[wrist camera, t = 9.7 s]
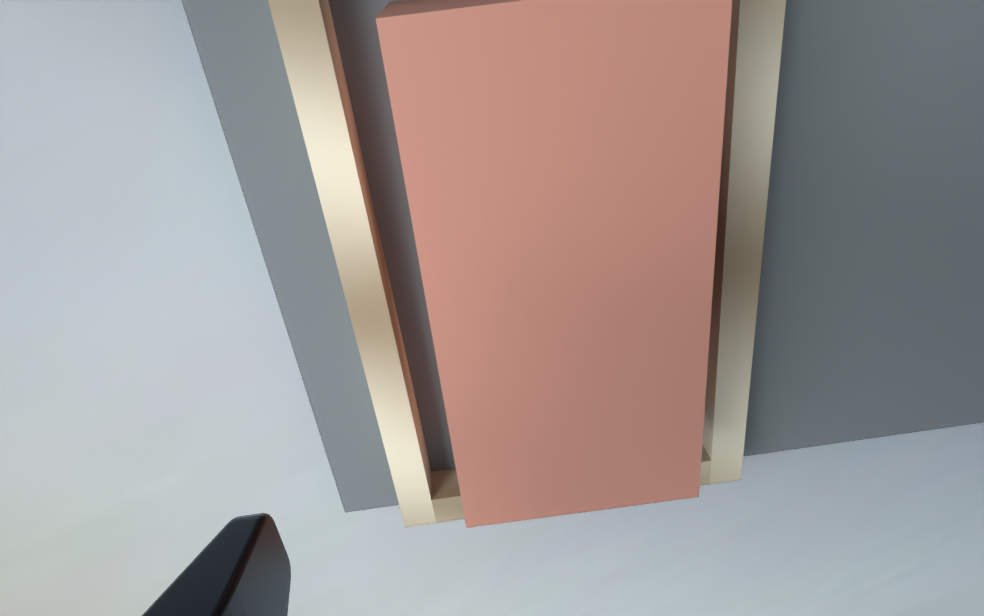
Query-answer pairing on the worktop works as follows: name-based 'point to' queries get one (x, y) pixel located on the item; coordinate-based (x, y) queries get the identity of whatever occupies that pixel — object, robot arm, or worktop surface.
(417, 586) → the worktop surface
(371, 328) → the slot frame
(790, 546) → the worktop surface
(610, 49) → the card deck
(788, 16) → the mat
